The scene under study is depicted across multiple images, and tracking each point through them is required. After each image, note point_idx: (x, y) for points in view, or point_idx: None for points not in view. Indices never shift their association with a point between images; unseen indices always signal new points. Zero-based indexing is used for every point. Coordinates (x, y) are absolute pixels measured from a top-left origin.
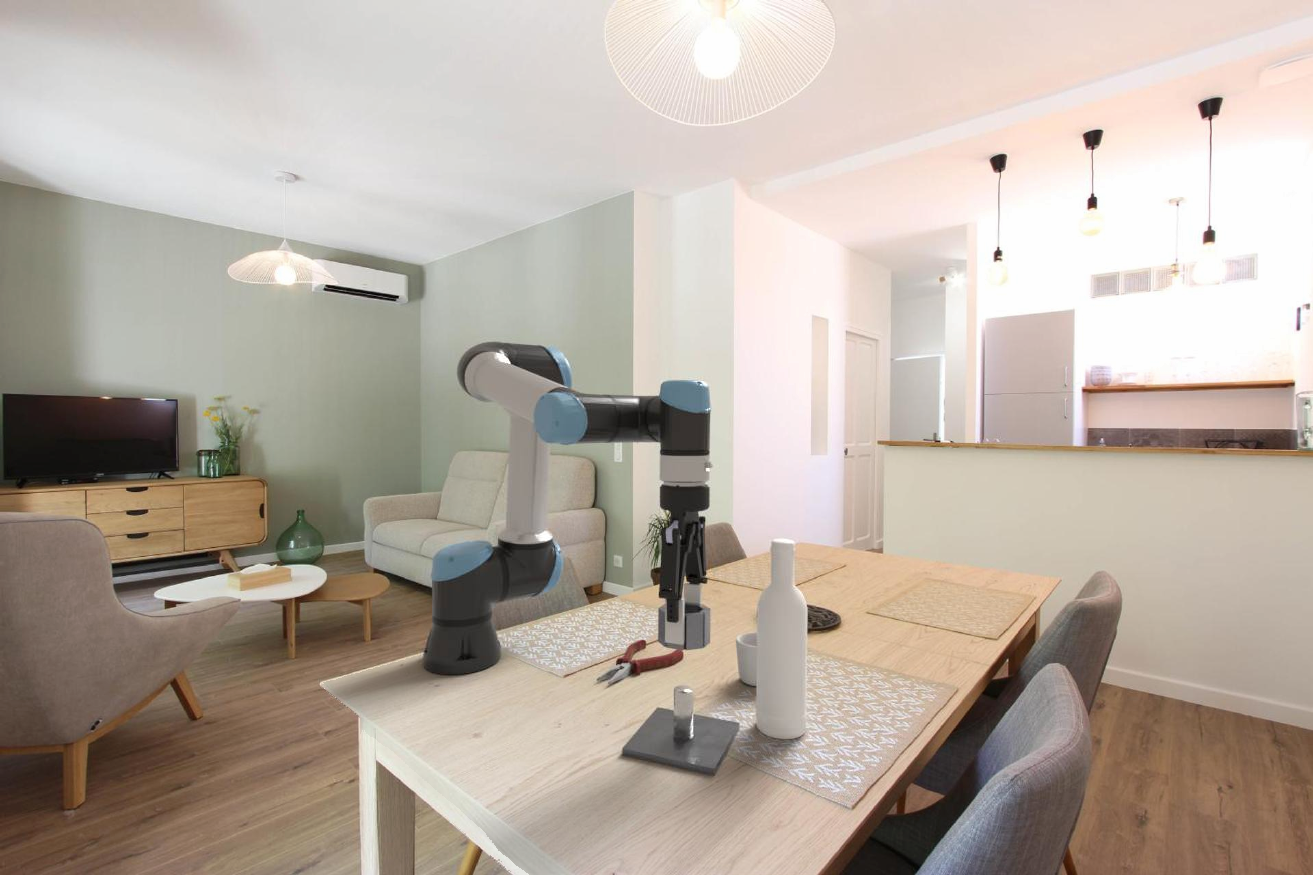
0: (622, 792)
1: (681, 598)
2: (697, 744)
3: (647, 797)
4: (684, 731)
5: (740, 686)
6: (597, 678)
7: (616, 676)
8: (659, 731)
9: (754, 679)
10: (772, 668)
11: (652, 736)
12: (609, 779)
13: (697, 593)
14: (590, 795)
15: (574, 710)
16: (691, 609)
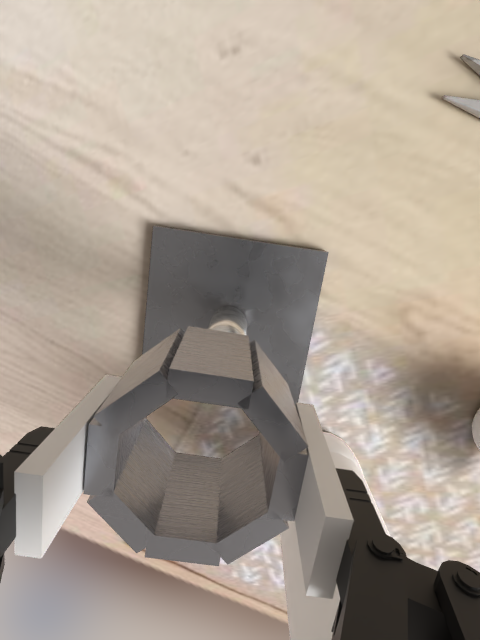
0: (55, 257)
1: (37, 545)
2: None
3: (57, 298)
4: None
5: (473, 392)
6: (465, 56)
7: (475, 108)
8: (229, 278)
9: (476, 428)
10: (287, 550)
11: (208, 270)
12: (80, 226)
13: (303, 545)
14: (29, 210)
15: (302, 59)
16: (271, 474)
